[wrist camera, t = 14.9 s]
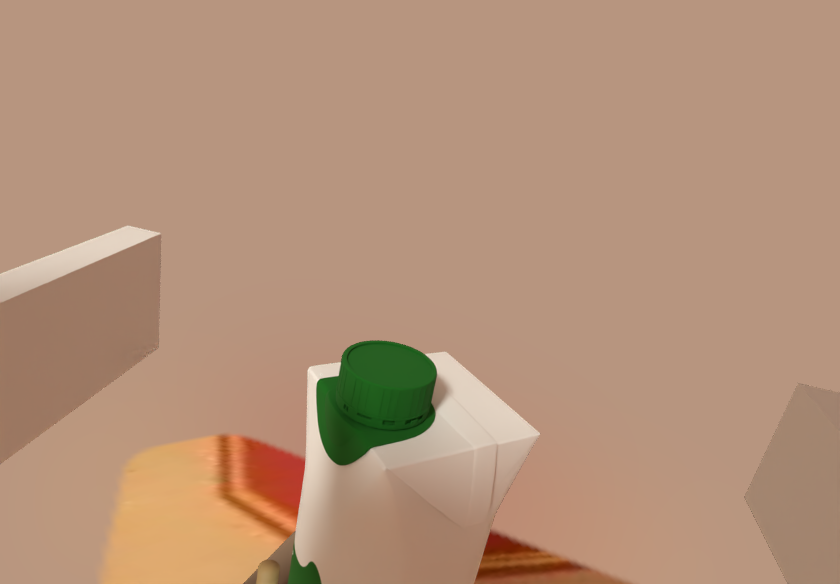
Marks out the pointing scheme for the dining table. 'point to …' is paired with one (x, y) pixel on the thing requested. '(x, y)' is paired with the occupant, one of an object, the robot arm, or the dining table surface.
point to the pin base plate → (275, 566)
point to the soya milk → (402, 469)
